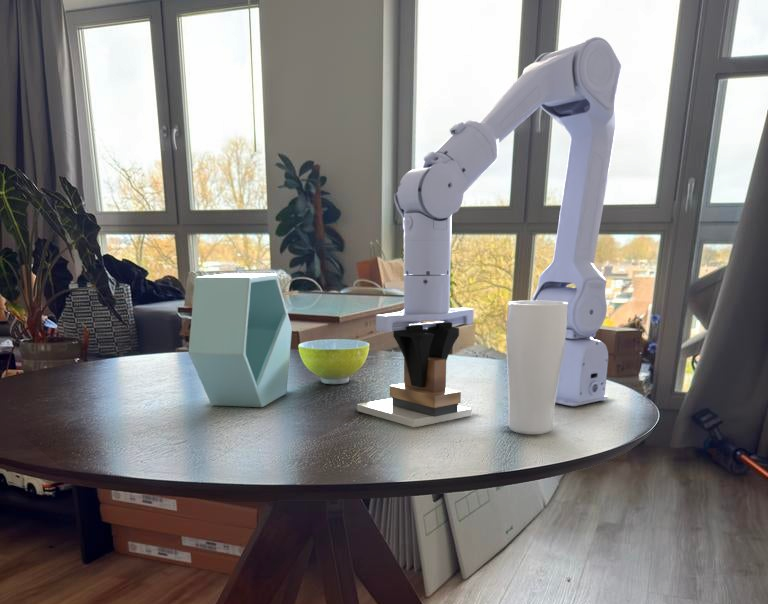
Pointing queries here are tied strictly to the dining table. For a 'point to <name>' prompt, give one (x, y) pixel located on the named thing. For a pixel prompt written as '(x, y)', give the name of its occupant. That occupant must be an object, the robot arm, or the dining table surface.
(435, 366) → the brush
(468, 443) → the dining table surface
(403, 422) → the tile
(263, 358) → the planter
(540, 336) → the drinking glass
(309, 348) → the bowl
